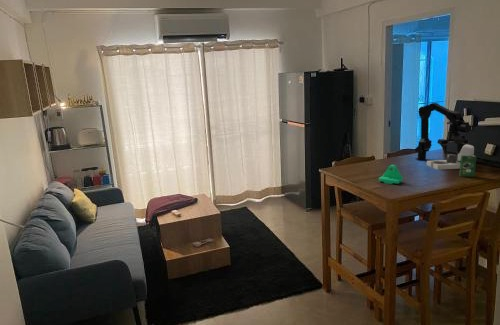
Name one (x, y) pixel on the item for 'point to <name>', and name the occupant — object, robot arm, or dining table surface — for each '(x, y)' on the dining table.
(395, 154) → the dining table surface
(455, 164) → the board
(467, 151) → the photo printer
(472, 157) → the coffee box
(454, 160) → the cap
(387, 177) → the green peaked piece
